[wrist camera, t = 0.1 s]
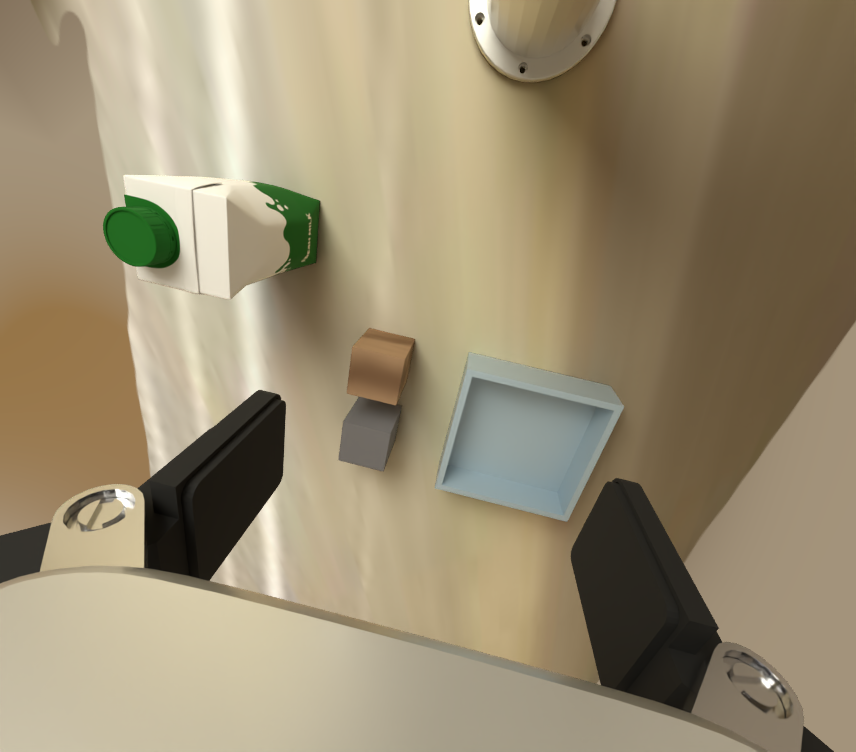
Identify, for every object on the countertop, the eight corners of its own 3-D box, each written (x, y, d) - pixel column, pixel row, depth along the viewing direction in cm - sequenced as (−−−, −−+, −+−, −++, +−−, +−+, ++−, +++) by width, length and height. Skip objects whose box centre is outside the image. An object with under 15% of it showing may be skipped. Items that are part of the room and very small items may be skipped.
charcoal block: (359, 395, 53) (343, 421, 47) (401, 405, 53) (390, 433, 47) (355, 430, 56) (338, 460, 49) (395, 440, 56) (383, 471, 49)
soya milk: (252, 177, 43) (85, 160, 25) (329, 193, 43) (216, 188, 25) (253, 256, 47) (108, 291, 29) (324, 272, 47) (222, 317, 29)
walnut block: (369, 327, 49) (352, 346, 43) (415, 338, 49) (404, 359, 42) (363, 369, 51) (346, 393, 45) (406, 380, 51) (395, 405, 45)
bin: (468, 352, 48) (467, 368, 44) (610, 385, 48) (624, 406, 43) (439, 463, 56) (434, 488, 51) (560, 494, 55) (567, 521, 51)
